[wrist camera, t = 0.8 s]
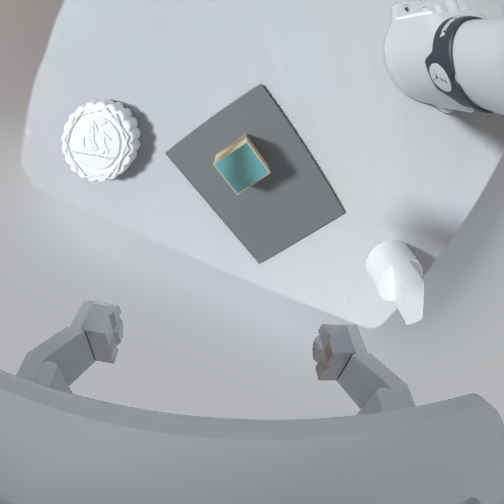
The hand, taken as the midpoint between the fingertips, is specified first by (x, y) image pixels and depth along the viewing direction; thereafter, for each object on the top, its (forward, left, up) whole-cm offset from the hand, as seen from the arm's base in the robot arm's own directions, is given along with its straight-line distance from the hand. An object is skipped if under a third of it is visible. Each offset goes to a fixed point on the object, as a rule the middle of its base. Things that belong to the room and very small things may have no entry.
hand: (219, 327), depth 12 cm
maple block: (+1, +3, -33) cm, 33 cm away
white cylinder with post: (-10, +33, -34) cm, 48 cm away
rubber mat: (+1, +7, -34) cm, 34 cm away
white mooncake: (+15, -12, -34) cm, 39 cm away
